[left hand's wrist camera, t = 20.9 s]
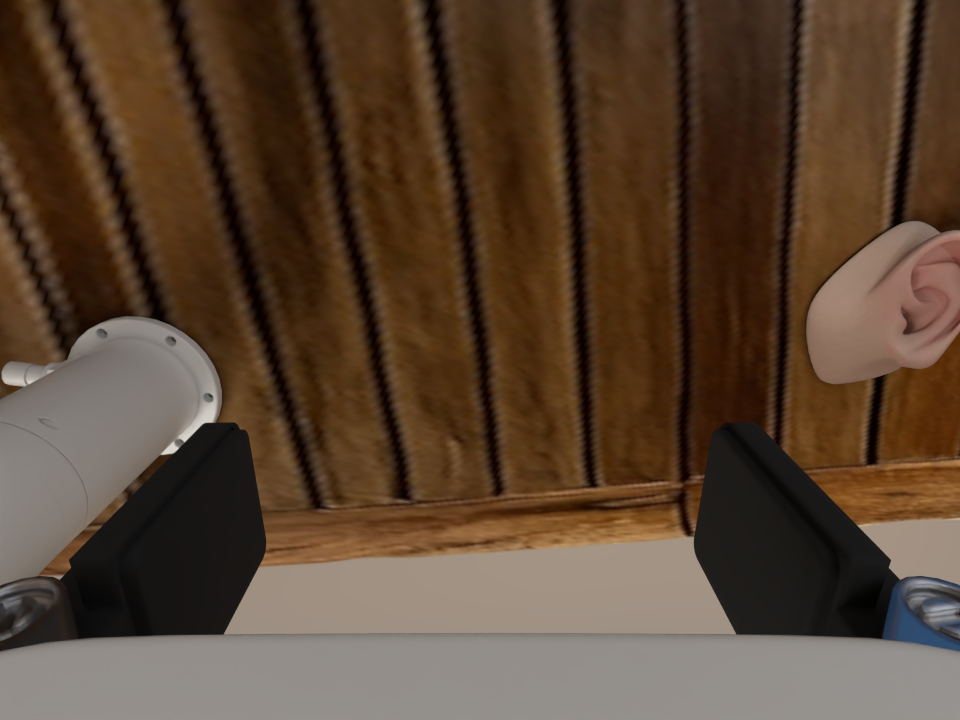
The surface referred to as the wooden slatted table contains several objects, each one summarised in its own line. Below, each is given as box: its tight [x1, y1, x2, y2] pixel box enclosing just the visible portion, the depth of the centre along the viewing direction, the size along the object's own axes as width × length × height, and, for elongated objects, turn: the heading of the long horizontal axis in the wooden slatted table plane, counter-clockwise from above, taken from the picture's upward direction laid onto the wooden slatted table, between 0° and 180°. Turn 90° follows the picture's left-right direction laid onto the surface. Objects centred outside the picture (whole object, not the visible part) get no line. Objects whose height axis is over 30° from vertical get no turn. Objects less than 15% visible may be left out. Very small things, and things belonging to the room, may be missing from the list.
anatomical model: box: [806, 221, 960, 384], centre depth 44 cm, size 13×4×12 cm
